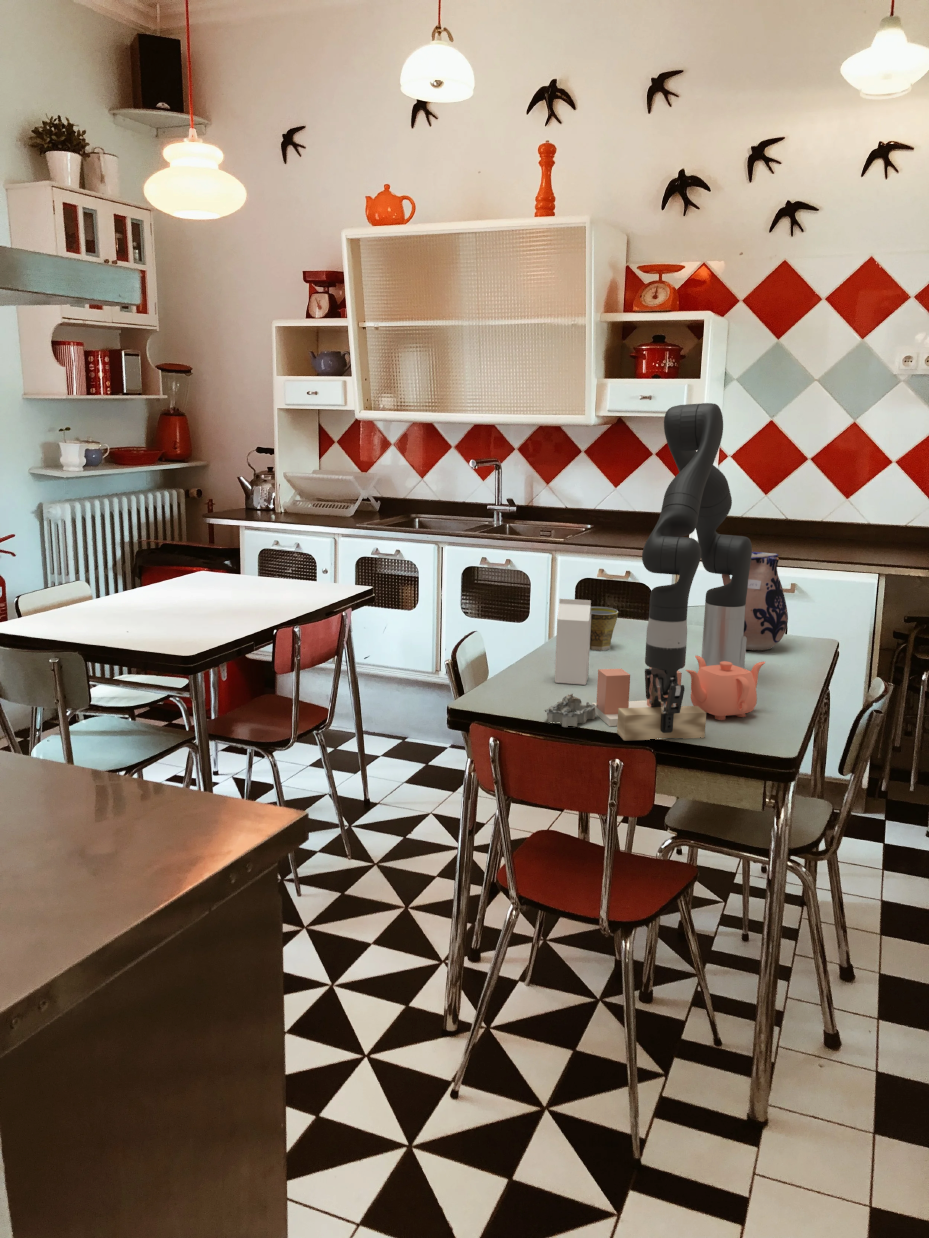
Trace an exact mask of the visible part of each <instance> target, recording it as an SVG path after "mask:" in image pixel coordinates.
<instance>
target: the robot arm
mask: <svg viewBox="0 0 929 1238" xmlns="http://www.w3.org/2000/svg"><path fill="white" fill-rule="evenodd" d="M723 417H724V416H723V413H722V409H721V408H720V406H719V405H718V404H716V403H713V402H712V403H711V402H704V403H703V402H702V403H687V404H679V405H674V406H672V407H671V406H670V407H669V408H668V409H667V410H666V412H665V414H664V418H663V430H664V431H663V432H664V436H665V440H666V443H667V447H668V449H669V451H670V453H671V456H672V458H673V460H674V462H675V465H676V467H677V470H678V474H676V475H675V477H673V478H672V480H671V481H670V482H669V485H668V486H667V488H666V490H665V492H664V495H663V496H664V497H663V500H662V505H661V510H660V514H659V518H658V520H657V522H656V524H655V526H654V528H653V530H652V531H651V532H650V534H649V536H648V538H647V539H646V541H645V544H644V546H643V550H642V553H641V560H642V564H643V567H644V568H645V569H646V570H647V571H648V572H649V573H652V574H658V575H659V574H660V575H662V574H663V575H674V576H676V575H677V576H679V577H678V580H677V581H676V582H675V583H671V584H666V585H659V586H655V587H653V588H652V589H651V590H650V591H651V592H650V595H649V611H648V621H647V625H646V635H645V637H646V640H645V655H644V656H645V657H644V663H645V665H646V667H648V668H645V669H644V683H645V699H646V700H647V699H649V704H650V705H651V707H661V711H662V713H661V728H660V730H661V732H663V733H671V732H672V731H673V718H674V714H675V713H680V709H681V706H682V704H683V698H684V694H685V686H684V684H681V685H678V678H677V671H680V670H681V669H683V668H684V667H685V666H686V658H687V657H686V656H687V645H688V644H687V643H688V623H687V622H688V606H689V605H688V604H689V598H690V596H689V595H690V592H691V588H692V584H693V581H694V578H695V575H696V573H697V570H698V567H699V565H700V561H701V563H702V567H703V568H704V569H705V570H706V572H708V573H711V574H716V575H717V574H718V575H722V574H724V575H730V576H731V578H732V579H731V578H730V579H731V582H730V583H728V584H726V585H724V584H723V585H720V586H717V587H713V588H710V589H708V590H707V591H706V592H705V598H704V599H705V601H704V613H703V615H704V616H703V627H702V628H703V630H702V631H703V632H702V645H701V646H702V647H701V656H700V657H702V658H703V659H704V661H705V663H706V666H711V665H720V662H723V661H727V662H731V663H732V665H735V666H738V667H741V668H744V669H745V666H746V665H745V662H746V651H747V650H746V640H747V638H746V637H745V636H743V632H744V620H745V607H746V596H747V589H748V579H749V571H750V564H751V556H752V552H753V548H752V547H753V546H752V542H751V539H750V538H749V537H747V536H744V535H732V534H720V533H718V532H717V529H718V528H719V527H720V525H721V524H722V523H723V522H724V521H725V519H727V517H728V515H729V513H730V512H731V508H732V504H733V498H732V493H731V489H730V486H729V482H728V480H727V478H726V476H725V474H724V473H723V472H722V471H721V470H720V469H719V468H718V467H717V466H715V465H714V464H715V461H716V458H717V454H718V452H719V449H720V445H721V443H722V439H723V433H724V419H723ZM695 531H696V536H697V540H696V539H695V538H693V537H688V536H689V535H691V534H693V533H694V532H695ZM686 536H687V537H686ZM649 667H651V668H649ZM665 695H668V697H664V696H665ZM666 701H667V704H666Z"/></svg>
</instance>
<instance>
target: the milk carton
mask: <svg viewBox="0 0 929 1238" xmlns="http://www.w3.org/2000/svg"><path fill="white" fill-rule="evenodd" d="M591 603H592V600H590V599H589V600H588V599H573V598H572V599H571V598H559V600H558V611H557V619H556V641H555V642H556V643H555V646H556V647H555V663H554V664H555V667H554V669H555V670H554V683H556V684H569V685H584V686H585V685H586V684H587V682H588V678H589V670H590V668H589V667H590V652H591V650H590V631H591V607H592V604H591Z"/></svg>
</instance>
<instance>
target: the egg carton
mask: <svg viewBox="0 0 929 1238" xmlns="http://www.w3.org/2000/svg"><path fill="white" fill-rule="evenodd" d="M573 694H574V693H570V694H567V695H566V696H563V698H562V700H561V701H558V702H557V703H555V704H554V705H551V706H549V707H548V708H547V709H544V713H546V715H547V716H546V721H547V720H548V721H547V723H548V722H552V723H553V722H560V723H562V724H561V727H563V728H569V727H568V726H577V727H578V724H586V723H587V720H595V719H596V714H595V707H597V706H598V705H595V704H593V705H591V704H590V702H588V701H587V702H586V704H583V703H582V699H581V698H579V697H576V696H574V695H573ZM572 711H576V712H572Z"/></svg>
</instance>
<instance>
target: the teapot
mask: <svg viewBox="0 0 929 1238" xmlns="http://www.w3.org/2000/svg"><path fill="white" fill-rule="evenodd" d="M695 659H696V660H697V662H698V671H697V672H696V671H695V670H692V669H691V670H690V669H685V671H686V672H687V673H688V675H690V679H691V682H690V691H691V692H690V700H691V704H692V706H698V707H699V708H701V709H702V710H703V711H705V712H706V714H710V715H712V716H714V719H715V720H717V721H725V720H726V716H736V717H737V718H747V713H748V714H749V713H751V712H753V711H754V709H755V707H756V706H757V702H758V701H757V699H758V697H757V695H758V694H757V686H758V682H759V680H758V679H759V673H760V669H761V668H762V667H763V665H764V664H766V661H759V662H757V663H755V664H753V666H752V668H751V670H748V669H747V668H745V667H744V668H741V667H738V666H735V665H732V663H731V662H727V661H723V662H720V665H711V666H706V663H705V661H704V659H703V658H702V657H701V656H699V655H695Z"/></svg>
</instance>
